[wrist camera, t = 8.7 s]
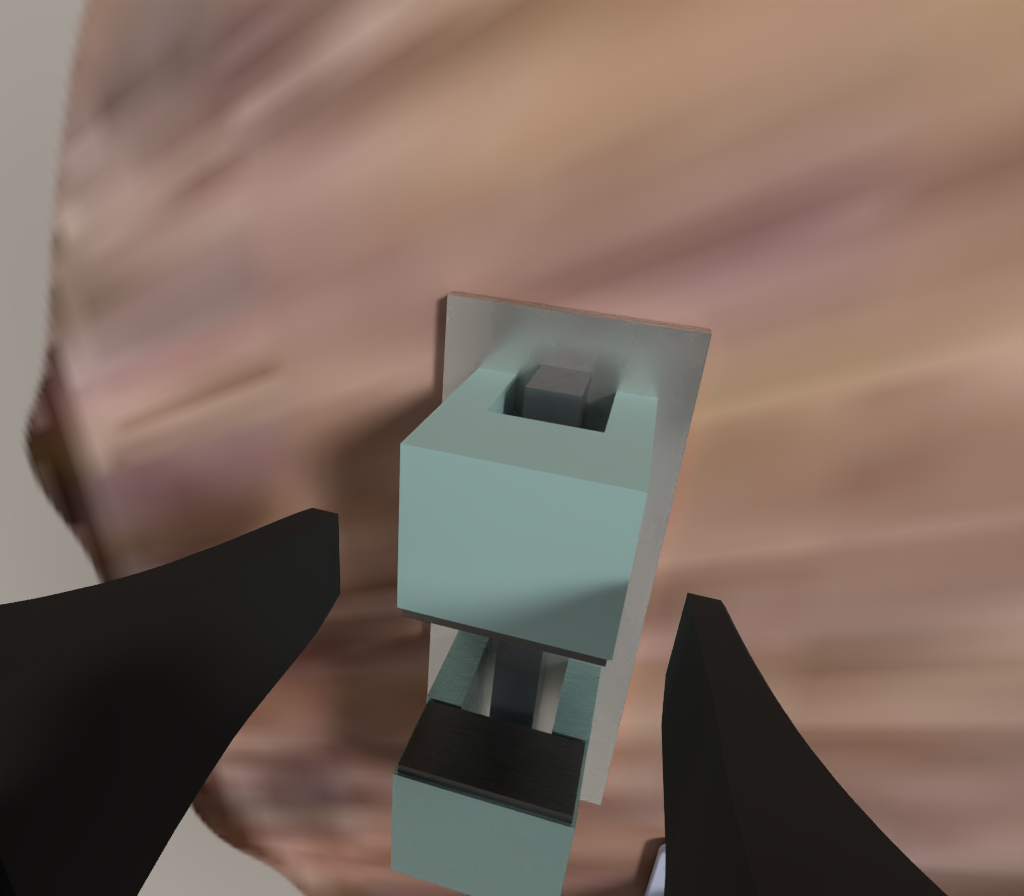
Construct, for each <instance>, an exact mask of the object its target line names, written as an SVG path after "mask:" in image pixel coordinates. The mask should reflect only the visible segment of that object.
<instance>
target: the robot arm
mask: <svg viewBox="0 0 1024 896" xmlns="http://www.w3.org/2000/svg"><path fill="white" fill-rule="evenodd" d="M339 594H340V564H339V522H338V514H337V513H332V512H328V511H323V510H319V509H314V508H311V509H307V510H304V511H301V512H299V513H296V514H293V515H291V516H288V517H286V518H283V519H281V520H278V521H276V522H273V523H271V524H269V525H266V526H264V527H261V528H259V529H256V530H254V531H252V532H249V533H247V534H244V535H242V536H239V537H237V538H235V539H232V540H230V541H227V542H225V543H222V544H220V545H217V546H215V547H212V548H209V549H207V550H204V551H201V552H198V553H196V554H193V555H190V556H188V557H185V558H182V559H180V560H177V561H174V562H171V563H169V564H166V565H163V566H160V567H157V568H154V569H150V570H147V571H144V572H141V573H137V574H134V575H130V576H127V577H124V578H120V579H117V580H113V581H109V582H106V583H102V584H98V585H94V586H89V587H85V588H81V589H76V590H72V591H67V592H63V593H59V594H54V595H50V596H45V597H41V598H36V599H31V600H25V601H19V602H14V603H8V604H2V605H0V896H137V895H138V893H139V891H140V890H141V888H142V886H143V884H144V883H145V881H146V879H147V878H148V876H149V874H150V872H151V871H152V869H153V867H154V865H155V864H156V862H157V860H158V859H159V857H160V855H161V853H162V852H163V850H164V848H165V846H166V845H167V843H168V841H169V840H170V838H171V836H172V834H173V833H174V831H175V829H176V828H177V826H178V824H179V823H180V821H181V820H182V818H183V816H184V815H185V813H186V812H187V810H188V808H189V807H190V805H191V803H192V802H193V800H194V799H195V797H196V795H197V794H198V792H199V790H200V789H201V787H202V786H203V784H204V782H205V781H206V779H207V778H208V776H209V775H210V773H211V772H212V770H213V769H214V767H215V766H216V764H217V762H218V761H219V759H220V758H221V756H222V755H223V753H224V752H225V750H226V749H227V747H228V746H229V744H230V743H231V741H232V740H233V738H234V737H235V735H236V734H237V733H238V731H239V730H240V729H241V727H242V726H243V725H244V723H245V722H246V721H247V719H248V718H249V717H250V715H251V714H252V713H253V712H254V710H255V709H256V708H257V707H258V705H259V704H260V703H261V702H262V701H263V699H264V698H265V697H266V696H267V694H268V693H269V692H270V691H271V689H272V688H273V687H274V686H275V684H276V683H277V682H278V681H279V679H280V678H281V677H282V676H283V675H284V673H285V672H286V671H287V670H288V668H289V667H290V666H291V665H292V663H293V662H294V661H295V660H296V658H297V657H298V656H299V655H300V653H301V652H302V651H303V649H304V648H305V647H306V646H307V644H308V643H309V642H310V641H311V639H312V638H313V637H314V635H315V634H316V633H317V631H318V630H319V628H320V626H321V625H322V623H323V622H324V620H325V618H326V617H327V615H328V613H329V612H330V610H331V608H332V606H333V605H334V603H335V601H336V599H337V598H338V596H339ZM662 756H663V786H664V814H665V844H663V845H661V847H660V848H659V851H658V854H657V857H656V860H655V863H654V867H653V870H652V873H651V876H650V880H649V883H648V886H647V889H646V892H645V896H947V895H946V894H945V893H944V892H943V891H942V890H941V889H940V888H939V887H938V886H937V885H936V884H935V883H933V882H932V881H931V880H930V879H929V878H928V877H927V876H926V875H925V874H924V873H923V872H922V871H921V870H920V869H919V868H918V867H917V866H916V865H915V864H914V863H912V862H911V861H910V860H909V858H908V857H907V856H906V855H905V854H904V853H903V852H902V851H901V850H900V849H899V848H898V847H897V846H896V845H895V844H894V843H893V842H892V841H891V840H890V839H889V838H888V837H887V836H886V835H885V834H884V833H883V832H882V831H881V830H880V829H879V828H878V827H877V825H876V824H875V823H874V822H873V821H872V820H871V819H870V818H869V817H868V816H867V815H866V813H865V812H864V811H863V810H862V809H861V808H860V807H859V806H858V805H857V804H856V803H855V802H854V800H853V799H852V798H851V797H850V796H849V795H848V794H847V792H846V791H845V790H844V789H843V788H842V787H841V785H840V784H839V783H838V782H837V781H836V780H835V778H834V777H833V776H832V775H831V773H830V772H829V771H828V770H827V768H826V767H825V766H824V765H823V763H822V762H821V761H820V760H819V758H818V757H817V756H816V755H815V753H814V752H813V751H812V750H811V748H810V747H809V746H808V744H807V743H806V742H805V740H804V739H803V737H802V736H801V735H800V733H799V732H798V730H797V729H796V727H795V726H794V725H793V723H792V722H791V720H790V719H789V717H788V716H787V714H786V713H785V711H784V710H783V708H782V707H781V705H780V704H779V702H778V701H777V699H776V697H775V696H774V694H773V693H772V691H771V689H770V688H769V686H768V684H767V683H766V681H765V679H764V678H763V676H762V674H761V673H760V671H759V669H758V668H757V666H756V664H755V663H754V661H753V659H752V657H751V656H750V654H749V652H748V650H747V648H746V646H745V645H744V643H743V641H742V639H741V637H740V635H739V633H738V631H737V629H736V627H735V625H734V623H733V622H732V619H731V617H730V615H729V613H728V611H727V609H726V607H725V606H724V604H723V603H722V601H721V600H717V599H713V598H708V597H704V596H699V595H695V594H690V593H687V597H686V601H685V605H684V608H683V612H682V616H681V620H680V623H679V627H678V631H677V635H676V638H675V642H674V646H673V650H672V654H671V657H670V661H669V665H668V669H667V672H666V679H665V690H664V701H663V713H662Z"/></svg>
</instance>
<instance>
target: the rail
mask: <svg viewBox="0 0 1024 896" xmlns="http://www.w3.org/2000/svg"><path fill="white" fill-rule="evenodd" d="M711 335H712V333H711V330H709V329H703V328H696V327H689V326H682V325H676V324H669V323H662V322H655V321H649V320H642V319H635V318H628V317H622V316H615V315H608V314H602V313H595V312H588V311H581V310H575V309H568V308H561V307H554V306H548V305H541V304H534V303H527V302H521V301H514V300H507V299H500V298H494V297H487V296H480V295H474V294H467V293H460V292H452V293H450V294H448V295H447V315H446V335H445V354H444V374H443V394H442V403H443V402H444V401H445V400H446V399H447V398H448V397H449V396H450V395H451V394H452V393H453V392H454V391H455V390H456V389H457V388H458V387H459V386H460V385H461V384H462V383H463V382H464V381H466V380H467V379H468V378H469V377H470V376H471V375H472V374H473V373H474V372H475V371H476V370H477V369H478V368H482V369H488V370H494V371H499V372H505V373H511V374H516V383H515V392H514V402H513V412H512V416H516V417H522V418H527V419H532V420H538V421H543V422H549V423H554V424H560V425H565V426H571V427H576V428H582V429H587V430H593V431H598V432H603V433H605V430H606V426H607V423H608V419H609V416H610V413H611V409H612V406H613V402H614V399H615V395H616V392H623V393H629V394H634V395H640V396H646V397H652V398H658V401H657V410H656V420H655V430H654V440H653V450H652V460H651V469H650V479H649V489H648V496H647V500H646V505H645V510H644V514H643V519H642V523H641V528H640V533H639V537H638V542H637V547H636V551H635V556H634V561H633V565H632V570H631V575H630V579H629V584H628V588H627V593H626V598H625V602H624V607H623V612H622V616H621V621H620V626H619V630H618V635H617V639H616V644H615V649H614V653H613V658H612V661H610V660H607V663H606V667H604V666H600V665H596V664H592V663H588V662H584V661H580V660H576V659H572V658H568V657H564V656H560V655H556V654H552V653H548V652H544V651H540V650H536V649H532V648H528V647H524V646H520V645H516V644H512V643H508V642H504V641H500V640H496V639H492V638H488V637H484V636H481V635H477V634H473V633H469V632H465V631H461V630H457V629H453V628H449V627H445V626H441V625H437V624H433V623H431V632H430V652H429V672H428V692H427V701H426V706H425V708H424V710H423V712H422V714H421V716H420V718H419V720H418V723H417V725H416V727H415V729H414V731H413V733H412V735H411V737H410V739H409V741H408V743H407V746H406V748H405V750H404V752H403V754H402V756H401V758H400V760H399V762H398V764H397V766H396V769H395V771H394V773H393V792H392V842H391V870H394V871H397V872H400V873H403V874H406V875H409V876H413V877H416V878H419V879H422V880H425V881H428V882H431V883H434V884H437V885H440V886H443V887H446V888H449V889H452V890H455V891H458V892H461V893H464V894H467V895H470V896H561V891H562V886H563V882H564V877H565V872H566V868H567V863H568V858H569V854H570V849H571V844H572V840H573V835H574V830H575V825H576V819H577V812H578V806H579V800H580V799H581V800H584V801H587V802H591V803H594V804H598V805H601V802H602V797H603V793H604V789H605V785H606V780H607V776H608V772H609V768H610V763H611V759H612V755H613V751H614V746H615V742H616V738H617V734H618V729H619V725H620V721H621V717H622V712H623V708H624V704H625V700H626V696H627V691H628V687H629V683H630V679H631V674H632V670H633V666H634V662H635V657H636V653H637V649H638V645H639V640H640V636H641V632H642V628H643V623H644V619H645V615H646V611H647V606H648V602H649V598H650V594H651V589H652V585H653V581H654V577H655V573H656V568H657V564H658V560H659V556H660V551H661V547H662V543H663V539H664V534H665V530H666V526H667V522H668V517H669V513H670V509H671V505H672V500H673V496H674V492H675V488H676V483H677V479H678V475H679V471H680V466H681V462H682V458H683V454H684V450H685V445H686V441H687V437H688V433H689V428H690V424H691V420H692V416H693V411H694V407H695V403H696V399H697V394H698V390H699V386H700V382H701V377H702V373H703V369H704V365H705V360H706V356H707V352H708V348H709V344H710V339H711Z"/></svg>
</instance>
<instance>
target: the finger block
mask: <svg viewBox="0 0 1024 896" xmlns="http://www.w3.org/2000/svg"><path fill="white" fill-rule="evenodd" d="M515 383H516V374H511V373H505V372H499V371H494V370H488V369H482V368H478V369H477V370H476V371H475V372H474V373H473V374H472V375H471V376H470V377H469V378H468V379H467V380H466V381H464V382H463V383H462V384H461V385H460V386H459V387H458V388H457V389H456V390H455V391H454V392H453V393H452V394H451V395H450V396H449V397H448V398H447V399H446V400H445V401H444V402H443V403H442V404H441V405H440V406H439V407H438V408H437V409H436V410H435V411H433V412H432V413H431V414H430V415H429V416H428V417H427V418H426V419H425V420H424V421H423V422H422V423H421V424H420V425H419V426H418V427H417V428H416V429H415V430H414V431H413V432H412V433H411V434H410V435H409V436H408V437H407V438H406V439H405V440H404V441H402V442H401V443H400V487H399V535H398V584H397V608H401V609H403V616H405V617H409V618H413V619H417V620H421V621H425V622H429V623H433V624H437V625H441V626H445V627H449V628H453V629H457V630H461V631H465V632H469V633H473V634H477V635H481V636H484V637H488V638H492V639H496V640H500V641H504V642H508V643H512V644H516V645H520V646H524V647H528V648H532V649H536V650H540V651H544V652H548V653H552V654H556V655H560V656H564V657H568V658H572V659H576V660H580V661H584V662H588V663H592V664H596V665H600V666H604V667H606V663H607V660H610V661H612V658H613V653H614V649H615V644H616V639H617V635H618V630H619V626H620V621H621V616H622V612H623V607H624V602H625V598H626V593H627V588H628V584H629V579H630V575H631V570H632V565H633V561H634V556H635V551H636V547H637V542H638V537H639V533H640V528H641V523H642V519H643V514H644V510H645V505H646V500H647V496H648V489H649V479H650V469H651V460H652V450H653V440H654V430H655V420H656V410H657V401H658V398H652V397H646V396H640V395H634V394H629V393H623V392H616V395H615V399H614V402H613V406H612V409H611V413H610V416H609V419H608V423H607V426H606V430H605V433H603V432H598V431H593V430H587V429H582V428H576V427H571V426H565V425H560V424H554V423H549V422H543V421H538V420H532V419H527V418H522V417H516V416H512V412H513V402H514V392H515Z"/></svg>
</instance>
